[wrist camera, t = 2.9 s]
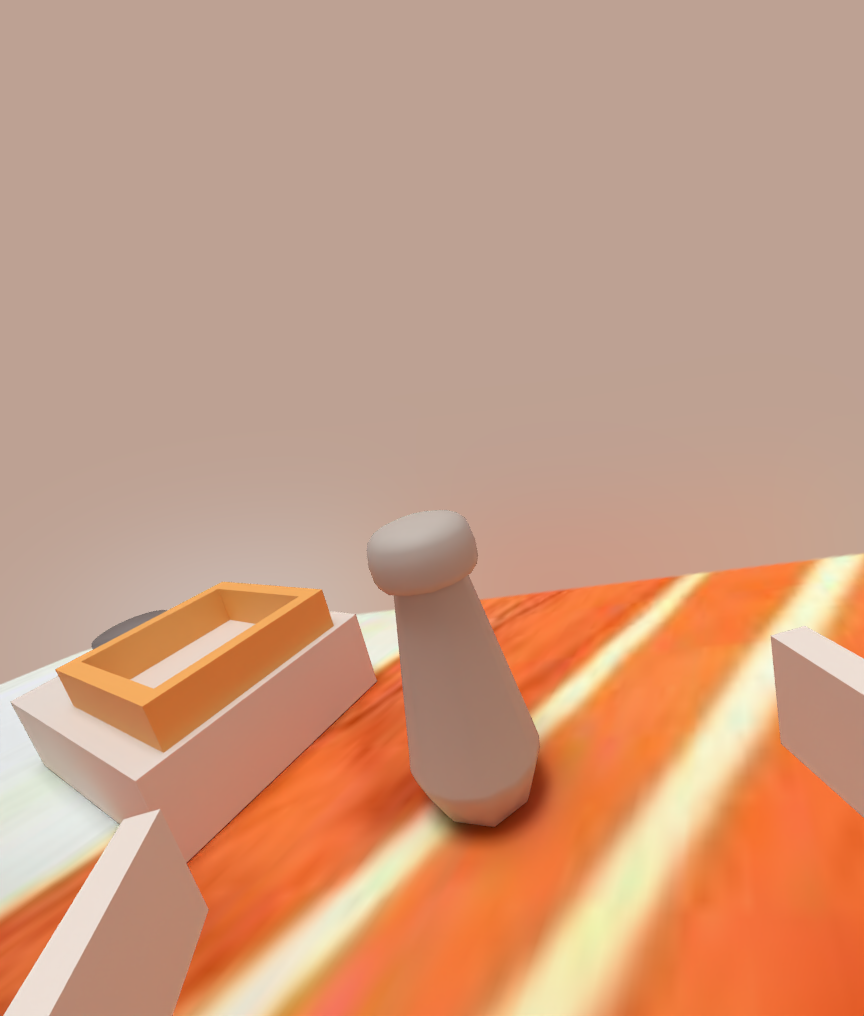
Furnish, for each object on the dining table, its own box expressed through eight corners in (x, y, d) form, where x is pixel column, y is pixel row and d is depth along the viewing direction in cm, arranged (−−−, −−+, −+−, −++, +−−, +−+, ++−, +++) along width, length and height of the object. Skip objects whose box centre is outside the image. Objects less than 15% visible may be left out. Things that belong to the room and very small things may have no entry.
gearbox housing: (29, 753, 35) (-21, 661, 33) (208, 643, 46) (177, 569, 44) (178, 870, 23) (111, 732, 21) (376, 681, 33) (344, 578, 31)
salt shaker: (397, 819, 22) (309, 551, 19) (461, 730, 27) (398, 500, 23) (517, 867, 19) (434, 550, 16) (567, 757, 23) (511, 491, 20)
